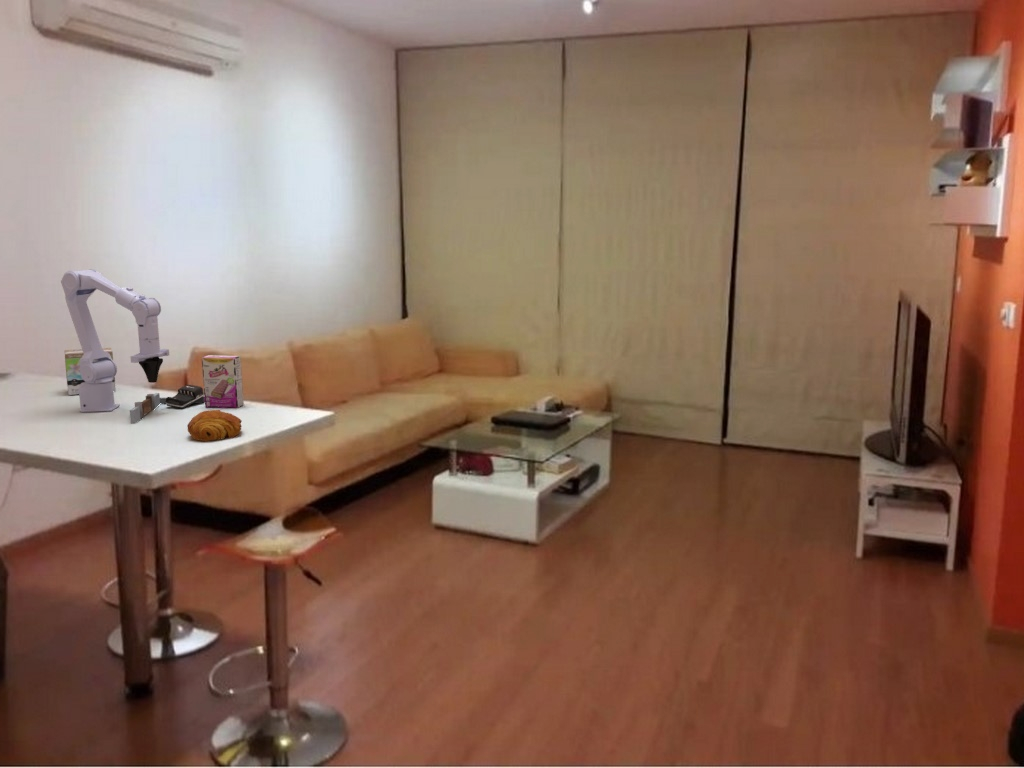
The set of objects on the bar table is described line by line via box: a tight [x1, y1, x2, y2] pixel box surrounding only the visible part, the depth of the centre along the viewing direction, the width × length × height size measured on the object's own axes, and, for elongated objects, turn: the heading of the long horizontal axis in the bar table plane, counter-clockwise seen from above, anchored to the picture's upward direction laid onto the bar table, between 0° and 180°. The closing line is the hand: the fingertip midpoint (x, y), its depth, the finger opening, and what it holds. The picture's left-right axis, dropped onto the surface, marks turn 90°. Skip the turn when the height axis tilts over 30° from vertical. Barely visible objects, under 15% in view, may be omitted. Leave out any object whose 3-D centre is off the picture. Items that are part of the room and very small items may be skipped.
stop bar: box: [160, 397, 205, 404], centre depth 281 cm, size 16×2×2 cm, turn 96°
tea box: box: [64, 347, 116, 396], centre depth 299 cm, size 15×10×15 cm
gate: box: [141, 395, 153, 417], centre depth 265 cm, size 2×9×4 cm, turn 6°
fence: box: [129, 392, 161, 424], centre depth 265 cm, size 2×25×5 cm, turn 6°
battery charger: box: [165, 384, 204, 410], centre depth 277 cm, size 7×4×11 cm
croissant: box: [186, 409, 243, 442], centre depth 239 cm, size 14×16×8 cm
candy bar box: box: [201, 354, 245, 409], centre depth 274 cm, size 11×5×16 cm, turn 84°
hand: (152, 382), depth 264 cm, fingers closed
